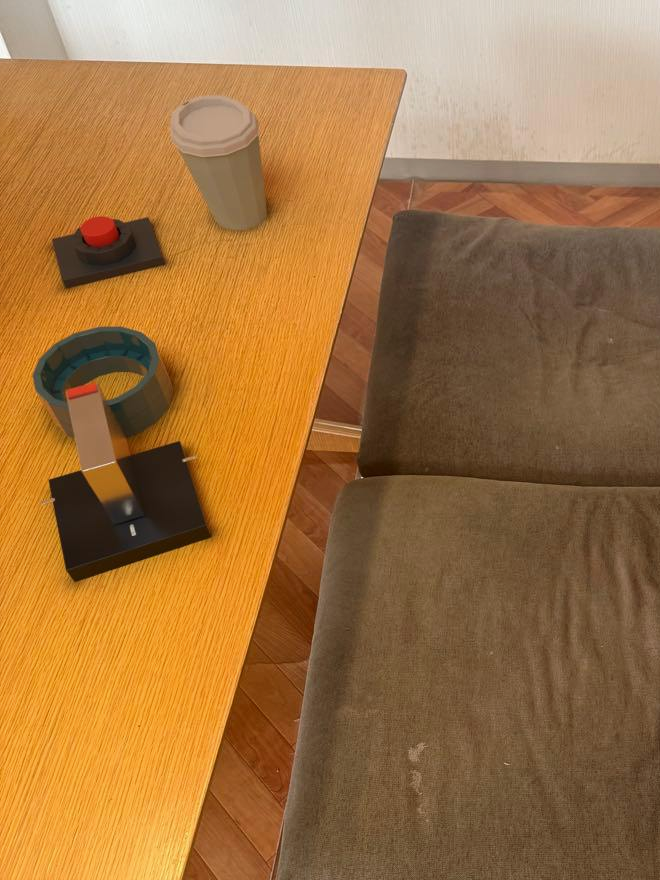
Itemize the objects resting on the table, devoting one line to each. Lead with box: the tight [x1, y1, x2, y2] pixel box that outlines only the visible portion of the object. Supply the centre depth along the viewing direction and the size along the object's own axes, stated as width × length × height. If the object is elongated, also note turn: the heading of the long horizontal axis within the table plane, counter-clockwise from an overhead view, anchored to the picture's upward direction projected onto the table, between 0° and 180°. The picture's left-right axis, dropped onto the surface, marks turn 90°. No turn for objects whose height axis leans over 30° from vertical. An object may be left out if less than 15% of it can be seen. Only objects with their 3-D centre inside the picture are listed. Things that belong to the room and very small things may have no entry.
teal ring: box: [32, 325, 174, 439], centre depth 97 cm, size 13×13×6 cm
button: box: [79, 215, 119, 247], centre depth 110 cm, size 4×4×2 cm
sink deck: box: [39, 440, 213, 583], centre depth 90 cm, size 15×17×3 cm
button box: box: [51, 216, 166, 290], centre depth 112 cm, size 12×9×4 cm
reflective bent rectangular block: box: [65, 381, 145, 525], centre depth 86 cm, size 11×3×8 cm, turn 24°
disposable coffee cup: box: [169, 94, 268, 231], centre depth 113 cm, size 11×11×15 cm
